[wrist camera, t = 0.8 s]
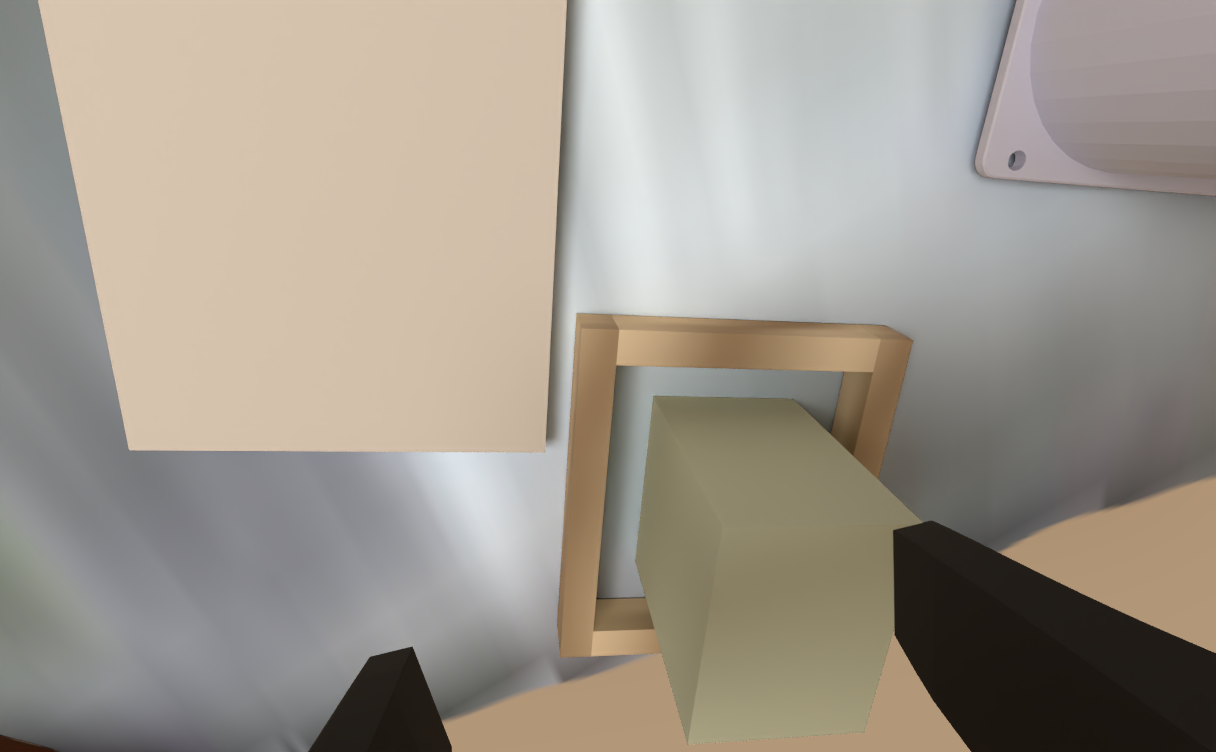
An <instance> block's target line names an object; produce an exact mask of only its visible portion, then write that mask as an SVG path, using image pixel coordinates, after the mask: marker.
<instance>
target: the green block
mask: <svg viewBox="0 0 1216 752" xmlns="http://www.w3.org/2000/svg"><path fill="white" fill-rule="evenodd" d="M920 523H923V522H922V521H921V520H920V519H919V518H918V517H917V516H916V515H914V514H913V513H912V512H911V511H910V510H909V509H908V508H907V507H906V506H905V505H904V504H903V503H902V502H901V501H900V500H899V499H898V498H897V497H896V496H895V495H893V494H892V493H891V492H890V491H889V490H888V489H887V488H886V487H885V486H884V485H883V484H882V483H881V482H880V481H879V480H878V479H877V478H876V477H875V476H874V475H873V474H871V473H870V472H869V471H868V470H867V469H866V468H865V467H864V466H863V465H862V464H861V463H860V462H859V461H858V460H857V459H856V458H855V457H854V456H853V455H852V454H850V453H849V452H848V451H847V450H846V449H845V448H844V447H843V446H842V445H841V444H840V443H839V442H838V441H837V440H836V439H835V438H834V437H833V436H832V435H831V434H830V433H828V432H827V431H826V430H825V429H824V428H823V427H822V426H821V425H820V424H819V423H818V422H817V421H816V420H815V419H814V418H813V417H812V416H811V415H810V414H809V413H807V412H806V411H805V410H804V409H803V408H802V407H801V406H800V405H799V404H798V403H797V402H796V401H795V400H794V399H784V398H733V397H682V396H653V403H652V412H651V422H650V431H649V440H648V449H647V458H646V467H645V476H644V486H643V495H642V504H641V513H640V522H639V531H638V540H637V550H636V559H635V562H636V565H637V569H638V572H639V576H640V579H641V583H642V586H643V590H644V593H645V597H646V601H647V604H648V608H649V611H650V615H651V618H652V622H653V625H654V629H655V632H656V636H657V639H658V643H659V646H660V650H661V653H662V657H663V660H664V664H665V667H666V671H667V674H668V678H669V681H670V685H671V688H672V692H673V695H674V699H675V702H676V705H677V709H678V713H679V716H680V720H681V723H682V727H683V730H684V734H685V737H686V741H687V744H700V743H716V742H730V741H745V740H759V739H775V738H790V737H805V736H819V735H833V734H848V733H863V732H865V728H866V725H867V722H868V718H869V715H870V711H871V708H872V704H873V700H874V697H875V694H876V690H877V686H878V683H879V680H880V676H881V672H882V669H883V666H884V662H885V659H886V656H887V652H888V649H889V645H890V642H891V638H892V634H893V631H894V628H895V626H894V564H893V530H895V529H899V528H903V527H908V526H912V525H916V524H920Z"/></svg>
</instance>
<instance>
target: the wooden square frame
mask: <svg viewBox="0 0 1216 752" xmlns="http://www.w3.org/2000/svg"><path fill="white" fill-rule="evenodd" d="M912 343H913V340H912V339H910V338H908V337H906V336H904V335H902V334H900V333H898V332H896V331H894V330H893V329H891V328H889V327H887V326H884V325H859V324H834V323H808V322H783V321H757V320H732V319H706V318H681V317H655V316H630V315H604V314H579V313H576V329H575V346H574V362H573V378H572V394H571V410H570V426H569V443H568V459H567V475H566V491H565V507H564V524H563V540H562V556H561V572H560V588H559V604H558V621H557V627H558V638H559V649H560V658H562V657H585V656H607V655H630V654H653V653H661V650H660V646H659V643H658V639H657V636H656V632H655V629H654V625H653V622H652V618H651V615H650V611H649V608H648V604H647V601H646V598H628V599H596V594H597V582H598V571H599V559H600V548H601V536H602V524H603V513H604V501H605V490H606V478H607V466H608V455H609V443H610V432H611V420H612V409H613V397H614V385H615V374H616V365H620V366H657V367H694V368H732V369H769V370H806V371H843V372H844V376H843V380H842V385H841V390H840V394H839V399H838V403H837V408H836V412H835V417H834V422H833V426H832V431H831V435H832V436H833V437H834V438H835V439H836V440H837V441H838V442H839V443H840V444H841V445H842V446H843V447H844V448H845V449H846V450H847V451H848V452H849V453H850V454H852V455H853V456H854V457H855V458H856V459H857V460H858V461H859V462H860V463H861V464H862V465H863V466H864V467H865V468H866V469H867V470H868V471H869V472H870V473H871V474H873V475H874V476H875V477H876V478H877V479H878V478H879V474H880V470H881V466H882V462H883V458H884V454H885V450H886V446H887V442H888V438H889V434H890V430H891V426H892V422H893V418H894V414H895V410H896V406H897V402H898V398H899V395H900V391H901V387H902V383H903V379H904V375H905V371H906V367H907V363H908V359H909V355H910V351H911V347H912Z"/></svg>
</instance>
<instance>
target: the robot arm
mask: <svg viewBox="0 0 1216 752" xmlns="http://www.w3.org/2000/svg"><path fill="white" fill-rule="evenodd" d="M1012 153H1014V154H1015V162H1014V164H1013V166H1012V167H1010V168H1009V166H1008V159H1009V157H1010V155H1011V154H1012ZM975 166H976V170H977V172H978V173H979V174H980V175H981V176H984V177H987V178H997V179H1010V180H1022V181H1035V182H1047V183H1060V184H1072V185H1085V186H1097V187H1110V188H1122V189H1134V190H1147V191H1159V192H1172V193H1184V194H1197V195H1209V196H1216V0H1017V1H1016V5H1015V9H1014V12H1013V16H1012V20H1011V24H1010V28H1009V32H1008V35H1007V39H1006V43H1005V47H1004V51H1003V55H1002V58H1001V62H1000V66H999V70H998V74H997V78H996V81H995V85H994V89H993V93H992V97H991V101H990V104H989V108H988V112H987V116H986V120H985V123H984V127H983V131H982V135H981V139H980V143H979V146H978V150H977V154H976V159H975ZM893 564H894V626H895V636H896V638H897V640H898V642H899V643H900V645H901V647H902V649H903V650H904V652H905V654H906V656H907V657H908V659H909V661H910V663H911V664H912V666H913V668H914V670H915V671H916V673H917V675H918V676H919V678H920V679H921V681H922V682H923V684H924V686H925V688H926V689H927V691H928V693H929V694H930V696H931V698H932V699H933V701H934V702H935V703H936V705H937V706H938V708H939V709H940V710H941V712H942V713H943V714H944V716H945V717H946V718H947V720H948V721H949V723H951V725H952V727H953V728H954V729H955V731H956V732H957V733H958V734H959V736H960V737H961V738H962V740H963V741H964V743H965V744H966V745H967V747H968V748H969V749H970V751H971V752H1216V653H1214V652H1211V651H1209V650H1206V649H1204V648H1202V647H1200V646H1197V645H1195V644H1193V643H1190V642H1188V641H1186V640H1183V639H1181V638H1179V637H1176V636H1174V635H1172V634H1169V633H1167V632H1165V631H1162V630H1160V629H1158V628H1156V627H1153V626H1151V625H1148V624H1146V623H1144V622H1142V621H1139V620H1137V619H1135V618H1133V617H1131V616H1129V615H1126V614H1124V613H1122V612H1120V611H1118V610H1115V609H1113V608H1111V607H1109V606H1107V605H1105V604H1102V603H1100V602H1098V601H1096V600H1094V599H1092V598H1090V597H1087V596H1085V595H1083V594H1081V593H1079V592H1077V591H1075V590H1073V589H1071V588H1069V587H1067V586H1064V585H1062V584H1060V583H1058V582H1056V581H1054V580H1052V579H1050V578H1048V577H1046V576H1044V575H1042V574H1040V573H1038V572H1036V571H1034V570H1032V569H1030V568H1028V567H1026V566H1024V565H1022V564H1020V563H1018V562H1016V561H1014V560H1012V559H1010V558H1008V557H1006V556H1004V555H1002V554H1000V553H998V552H996V551H994V550H992V549H990V548H988V547H986V546H984V545H982V544H980V543H978V542H976V541H974V540H972V539H970V538H968V537H966V536H964V535H962V534H960V533H958V532H955V531H953V530H951V529H949V528H947V527H945V526H943V525H940V524H938V523H936V522H934V521H928V522H924V523H920V524H916V525H912V526H908V527H903V528H899V529H895V530H893ZM308 752H452V746H451V744H450V741H449V739H448V736H447V734H446V732H445V729H444V726H443V723H442V721H441V718H440V716H439V713H438V711H437V708H436V705H435V703H434V700H433V698H432V695H431V693H430V690H429V688H428V685H427V682H426V680H425V677H424V675H423V672H422V670H421V667H420V665H419V662H418V659H417V657H416V654H415V652H414V649H413V647H409V648H405V649H401V650H397V651H392V652H388V653H384V654H380V655H376V656H372V657H370V658H369V659H368V661H367V662H366V664H365V665H364V667H363V668H362V670H361V671H360V673H359V674H358V676H357V677H356V679H355V680H354V682H353V683H352V685H351V686H350V688H349V689H348V691H347V692H346V694H345V696H344V697H343V699H342V700H341V702H340V703H339V705H338V706H337V708H336V710H335V711H334V713H333V714H332V716H331V717H330V719H329V720H328V722H327V724H326V725H325V727H324V728H323V730H322V731H321V733H320V734H319V736H318V737H317V739H316V741H315V742H314V744H313V745H312V747H311V748H310V750H309V751H308Z"/></svg>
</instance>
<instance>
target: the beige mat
mask: <svg viewBox="0 0 1216 752" xmlns="http://www.w3.org/2000/svg"><path fill="white" fill-rule="evenodd" d="M38 1H39V6H40V11H41V16H42V21H43V26H44V31H45V36H46V41H47V46H48V51H49V56H50V61H51V66H52V71H53V75H54V80H55V85H56V90H57V95H58V100H59V105H60V110H61V115H62V120H63V125H64V130H65V135H66V140H67V145H68V150H69V155H70V160H71V165H72V169H73V174H74V179H75V184H76V189H77V194H78V199H79V204H80V209H81V214H82V219H83V224H84V229H85V234H86V239H87V244H88V249H89V254H90V259H91V264H92V268H93V273H94V278H95V283H96V288H97V293H98V298H99V303H100V308H101V313H102V318H103V323H104V328H105V333H106V338H107V343H108V348H109V353H110V358H111V362H112V367H113V372H114V377H115V382H116V387H117V392H118V397H119V402H120V407H121V412H122V417H123V422H124V427H125V432H126V437H127V442H128V447H129V450H186V451H369V452H545V446H546V425H547V404H548V384H549V363H550V342H551V321H552V301H553V280H554V259H555V238H556V217H557V197H558V176H559V155H560V134H561V114H562V93H563V72H564V51H565V30H566V10H567V0H38Z"/></svg>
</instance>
